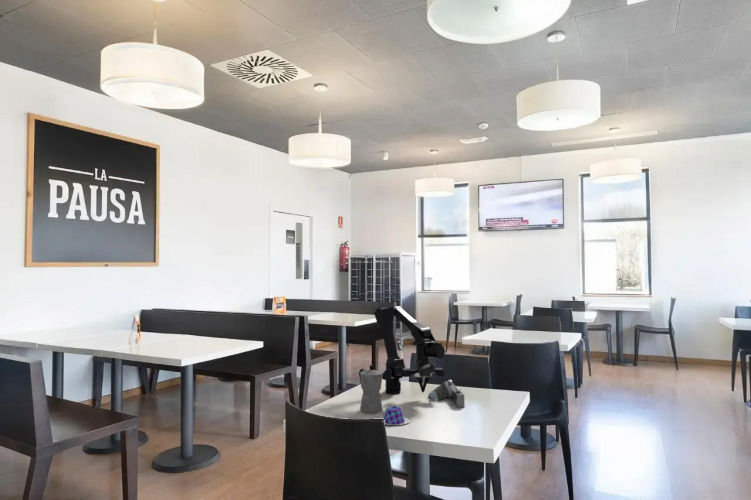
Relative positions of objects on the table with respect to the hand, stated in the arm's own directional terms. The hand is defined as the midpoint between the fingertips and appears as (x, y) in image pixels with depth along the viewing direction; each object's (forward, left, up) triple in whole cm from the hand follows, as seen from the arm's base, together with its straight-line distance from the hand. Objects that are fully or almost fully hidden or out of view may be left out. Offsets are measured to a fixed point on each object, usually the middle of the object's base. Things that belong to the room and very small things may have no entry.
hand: (422, 392), depth 219 cm
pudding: (-16, -32, -4) cm, 36 cm away
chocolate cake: (+6, +3, -4) cm, 8 cm away
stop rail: (+13, -1, -3) cm, 14 cm away
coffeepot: (-24, -16, -3) cm, 29 cm away
